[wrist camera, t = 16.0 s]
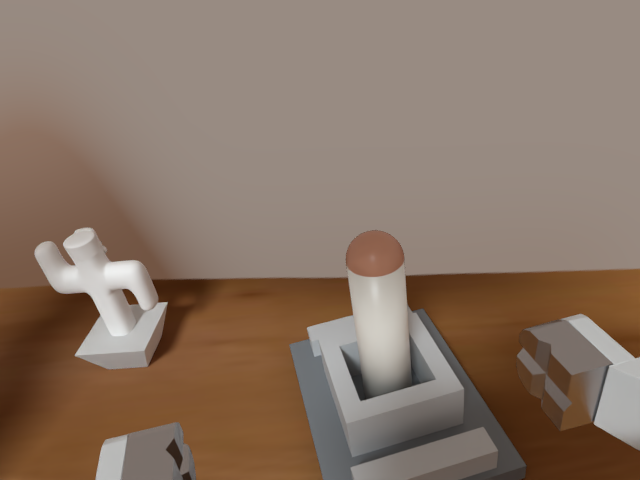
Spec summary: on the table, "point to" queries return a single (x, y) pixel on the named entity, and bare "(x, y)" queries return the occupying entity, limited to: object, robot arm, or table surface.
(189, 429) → the table surface
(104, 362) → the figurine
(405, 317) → the dome-capped white post
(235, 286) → the table surface
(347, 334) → the jig
